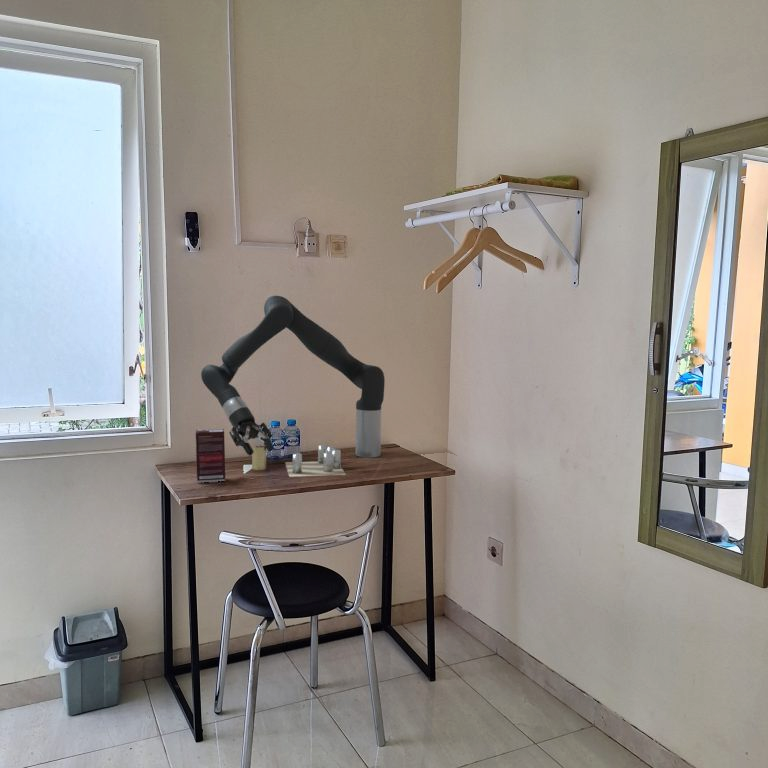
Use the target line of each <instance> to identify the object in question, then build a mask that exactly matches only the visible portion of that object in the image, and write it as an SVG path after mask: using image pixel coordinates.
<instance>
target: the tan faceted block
mask: <svg viewBox="0 0 768 768" xmlns="http://www.w3.org/2000/svg"><path fill="white" fill-rule="evenodd" d="M251 448H252V449H253V451H254V453H253V454H252V455H251V465H252V469H251V470H254V471H265V470H266V469H267V448H266V446H265V445H264V444H255V445H253V446H251Z"/></svg>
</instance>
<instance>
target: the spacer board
mask: <svg viewBox="0 0 768 768" xmlns="http://www.w3.org/2000/svg"><path fill="white" fill-rule="evenodd" d="M284 464H285V468H286V470H287V475H288V477H290V478H293V477H294V478H295V477H296V478H297V477H325V476H326V477H327V476H346V475H347V474H346V472H345V471H344V468H343V467H342V466H341V468H340V469H333V471H332V472H323V464H321V463H318V461H302V473H300V474H294V473H293V461H290V462H289V461H287V462H284Z"/></svg>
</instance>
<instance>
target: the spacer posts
mask: <svg viewBox="0 0 768 768" xmlns="http://www.w3.org/2000/svg"><path fill="white" fill-rule="evenodd" d="M341 451H342V450H341V449H337V447H336V446H335V445H327V444H323V443H322V444H318V445H317V462H318V463H321V464H323V472H332V471H333V469H340V468H341V467H342V466H341V461H342V459H341V457H342V456H341V455H342V454H341V453H342V452H341ZM292 462H293V473H294V474H300V473H302V462H303V453H299V452H298V453H297V452H296V453H292Z"/></svg>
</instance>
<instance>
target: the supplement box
mask: <svg viewBox="0 0 768 768" xmlns="http://www.w3.org/2000/svg"><path fill="white" fill-rule="evenodd" d="M225 443H226V442H225V430H224V428H218V429H217V428H215V429H214V428H213V429H196V430H195V454H196V455H195V456H196V480H197V481H196V482H197V484H205V483H204V482H209V483H222V482H221V481H225V482H226V451H225V448H226V447H225V446H226V444H225ZM218 481H220V482H218ZM201 482H202V483H201Z"/></svg>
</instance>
